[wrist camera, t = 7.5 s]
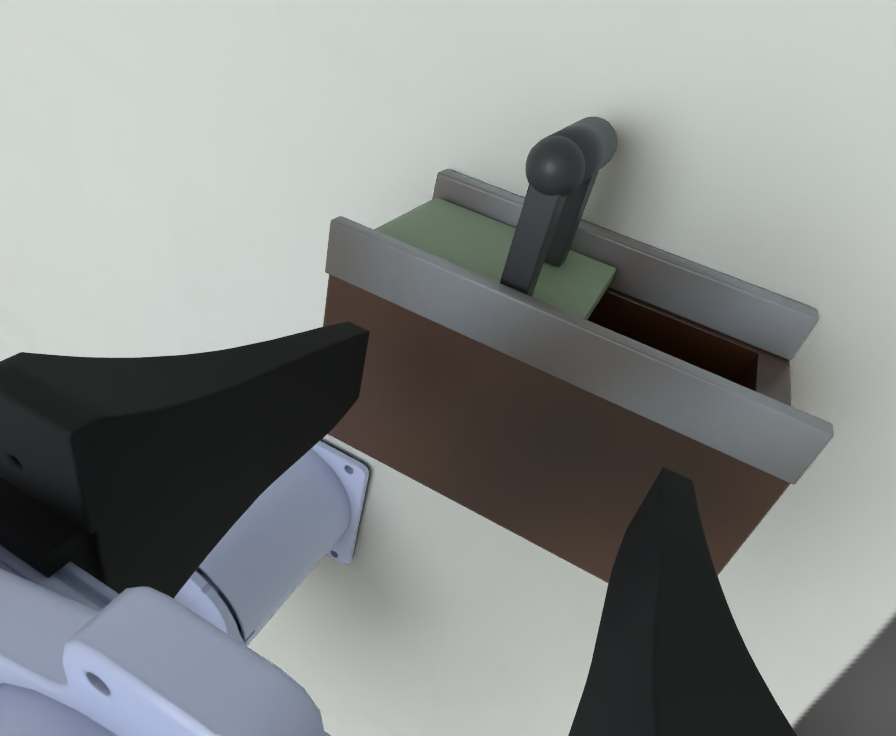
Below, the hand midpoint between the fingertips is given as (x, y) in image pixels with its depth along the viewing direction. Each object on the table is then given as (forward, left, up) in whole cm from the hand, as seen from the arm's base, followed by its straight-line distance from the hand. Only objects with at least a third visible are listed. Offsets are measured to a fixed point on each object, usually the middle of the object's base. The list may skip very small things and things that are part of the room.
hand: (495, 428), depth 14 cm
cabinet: (0, -3, -10) cm, 10 cm away
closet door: (-3, +3, -9) cm, 10 cm away
